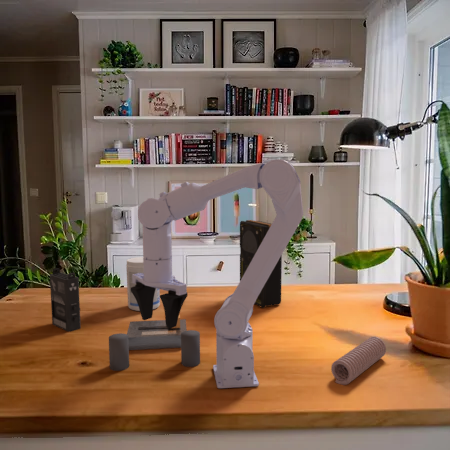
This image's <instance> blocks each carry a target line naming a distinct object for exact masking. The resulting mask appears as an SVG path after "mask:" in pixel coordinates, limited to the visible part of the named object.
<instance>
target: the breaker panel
mask: <svg viewBox="0 0 450 450" xmlns="http://www.w3.org/2000/svg"><path fill="white" fill-rule="evenodd" d="M128 324H129V326H128V328H127V332H126V334H127V335H128V342H129V351H137V350H140V351H141V350H155V349H156V350H157V349H175V348H176V349H177V348H178V349H179V348H180V349H181V333H182V332H184V331H188V330H187V319H185V318H182V319H181V318H180V328H170V329H169V328H167V327H166V321H165V319H160V320H138V321H135V320H134V321H129V323H128Z"/></svg>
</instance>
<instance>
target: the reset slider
mask: <svg viewBox="0 0 450 450" xmlns="http://www.w3.org/2000/svg"><path fill="white" fill-rule="evenodd" d="M180 319H181V313H179V317H178V321H177V325H176V326H175V327H173V328H180Z"/></svg>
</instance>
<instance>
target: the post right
mask: <svg viewBox="0 0 450 450" xmlns="http://www.w3.org/2000/svg"><path fill="white" fill-rule="evenodd" d="M200 335H201V333H200V331H198V330H192V329H190V330H187V331H184V332H182V333H181V348H180V353H181V354H180V358H181V359H180V360H181V361H180V362H181V363H180V364H181V365H182V366H184V367H187V368H192V367H193V368H194V367H196V366H199V365H201V338H200V337H201V336H200Z"/></svg>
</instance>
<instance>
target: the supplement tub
mask: <svg viewBox="0 0 450 450" xmlns="http://www.w3.org/2000/svg"><path fill="white" fill-rule="evenodd" d="M125 267H126V289H127V290H126V292H127V307H128V309H130V310H132V311H135V312H140V309H139V306H138V303H137V301H136V299H135V297H134V295H133V293H132V292H131V287H134V286H135V285H136V284H133V283H132V274H137V273H142V274H144V265H143V256H137V257H132V258H128V259H126V265H125ZM160 291H161V289H158V288H156V290H155V294H154V299H153V310H156V309H157V308H159V306H160V305H161V298H160V295H161V294H160V293H161V292H160Z"/></svg>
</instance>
